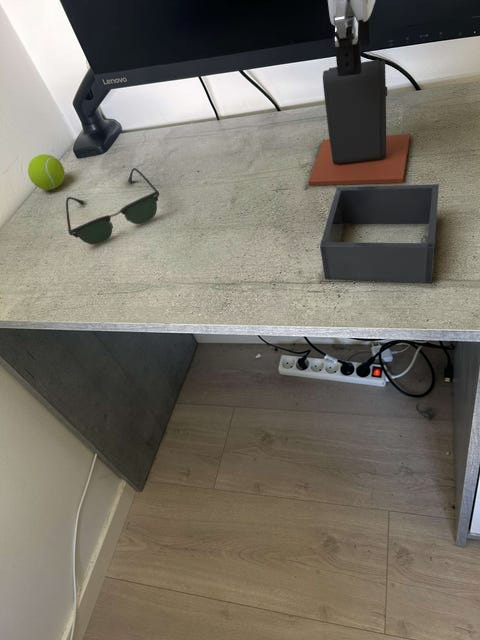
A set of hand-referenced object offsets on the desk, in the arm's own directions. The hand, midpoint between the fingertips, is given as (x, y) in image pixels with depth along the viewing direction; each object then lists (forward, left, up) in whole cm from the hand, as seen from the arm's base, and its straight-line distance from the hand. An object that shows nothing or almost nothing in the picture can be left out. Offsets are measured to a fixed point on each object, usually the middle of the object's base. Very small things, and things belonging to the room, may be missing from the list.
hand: (355, 59), depth 71 cm
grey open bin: (-6, +22, -17) cm, 28 cm away
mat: (0, 0, -17) cm, 17 cm away
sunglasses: (+43, +13, -17) cm, 48 cm away
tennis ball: (+63, +4, -17) cm, 66 cm away
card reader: (0, 0, -16) cm, 16 cm away
